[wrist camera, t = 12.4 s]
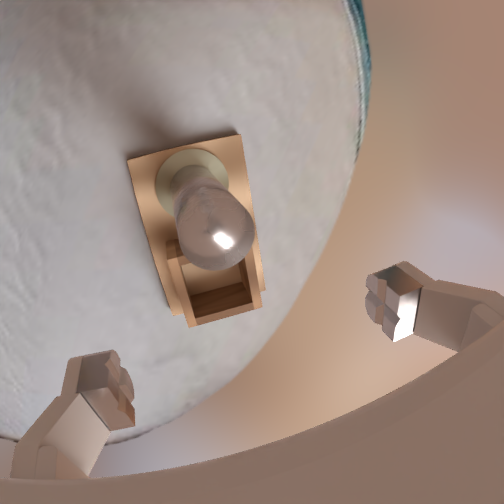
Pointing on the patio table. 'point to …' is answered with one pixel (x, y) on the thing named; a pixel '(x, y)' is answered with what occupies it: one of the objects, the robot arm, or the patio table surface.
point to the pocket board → (166, 237)
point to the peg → (209, 220)
